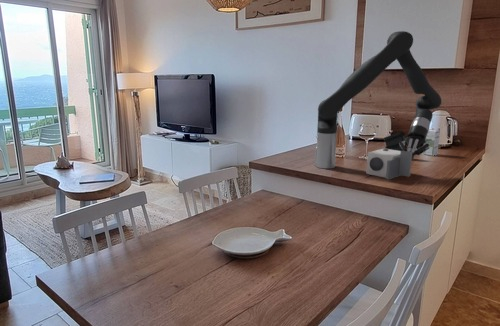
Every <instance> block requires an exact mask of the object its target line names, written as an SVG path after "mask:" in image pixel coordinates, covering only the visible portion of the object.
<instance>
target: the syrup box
mask: <svg viewBox="0 0 500 326" xmlns="http://www.w3.org/2000/svg"><path fill="white" fill-rule="evenodd" d="M440 136H441V129H433V128H432V129H431V128H429V131H428V134H427V137H426V140H425V142H426V144H429V149H428V150H426V151H425V152H423V153H422V154H423V155H426V156H429V155H430V156H431V157H435V156H437V155H438V153H439V145H440V144H439V143H440ZM434 155H435V156H434Z"/></svg>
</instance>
